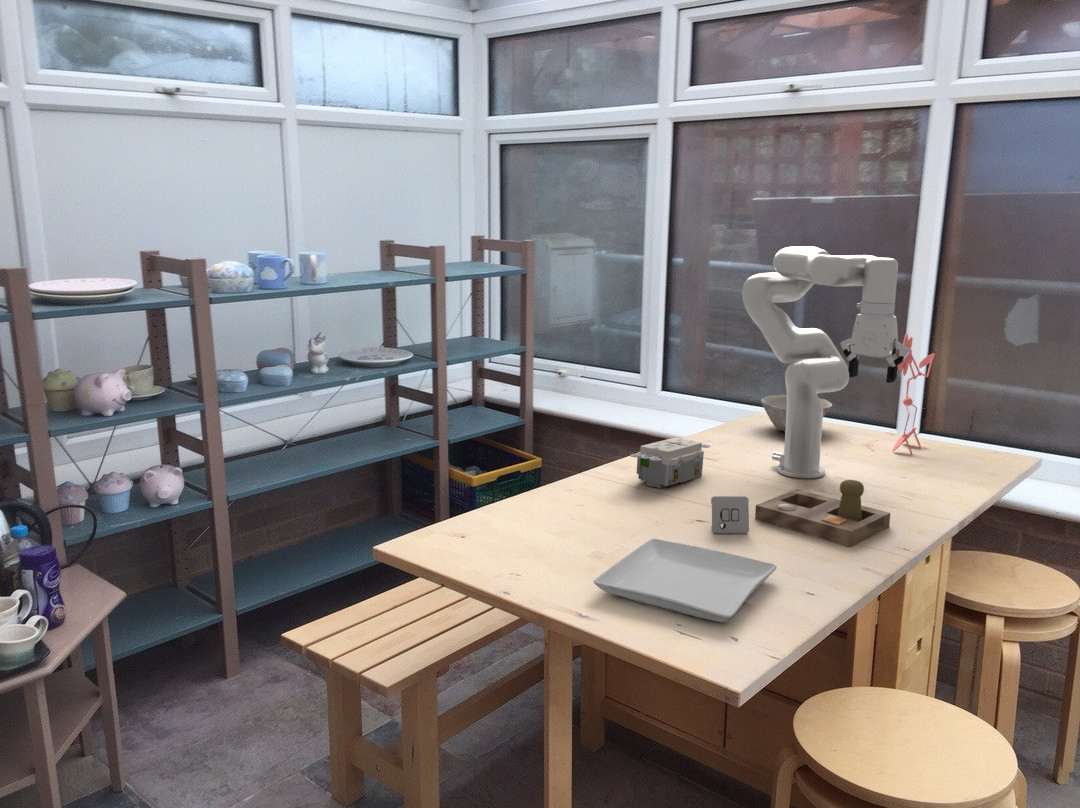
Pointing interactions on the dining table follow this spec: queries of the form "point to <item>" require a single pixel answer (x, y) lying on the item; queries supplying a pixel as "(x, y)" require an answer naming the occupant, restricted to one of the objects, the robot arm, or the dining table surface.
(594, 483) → the dining table surface
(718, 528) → the electrical switch
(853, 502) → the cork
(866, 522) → the socket board
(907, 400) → the figurine
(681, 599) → the square plate
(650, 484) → the electrical outlet
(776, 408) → the ceramic bowl
